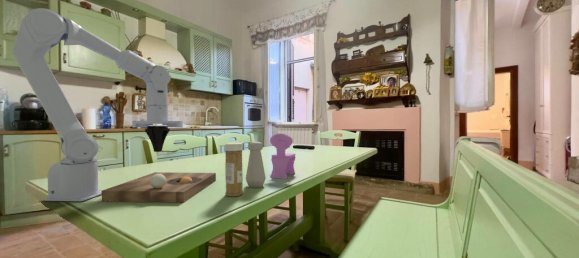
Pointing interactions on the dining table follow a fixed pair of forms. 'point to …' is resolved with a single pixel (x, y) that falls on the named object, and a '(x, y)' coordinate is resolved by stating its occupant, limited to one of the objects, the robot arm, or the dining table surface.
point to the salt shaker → (255, 166)
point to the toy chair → (282, 156)
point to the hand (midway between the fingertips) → (158, 151)
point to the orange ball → (185, 180)
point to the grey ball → (158, 181)
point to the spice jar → (233, 169)
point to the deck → (168, 193)
